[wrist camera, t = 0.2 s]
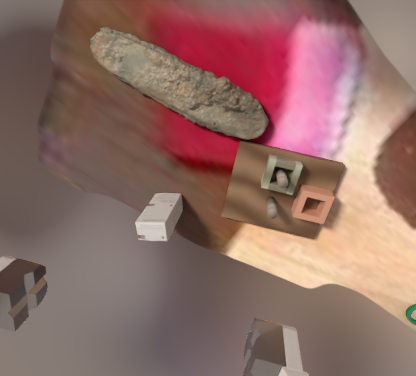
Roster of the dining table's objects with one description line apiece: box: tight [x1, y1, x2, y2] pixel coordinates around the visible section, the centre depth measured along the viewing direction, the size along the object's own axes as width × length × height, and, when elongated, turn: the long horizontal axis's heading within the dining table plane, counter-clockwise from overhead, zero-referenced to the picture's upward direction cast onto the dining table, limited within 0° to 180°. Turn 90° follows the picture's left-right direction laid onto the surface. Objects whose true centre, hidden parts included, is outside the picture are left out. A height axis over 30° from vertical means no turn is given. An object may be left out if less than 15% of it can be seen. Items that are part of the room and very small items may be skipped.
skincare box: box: [135, 193, 183, 241], centre depth 59 cm, size 6×4×12 cm
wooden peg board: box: [222, 139, 345, 239], centre depth 56 cm, size 17×20×8 cm
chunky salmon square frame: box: [291, 184, 335, 224], centre depth 56 cm, size 6×6×3 cm
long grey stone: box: [90, 27, 268, 140], centre depth 52 cm, size 35×5×10 cm
